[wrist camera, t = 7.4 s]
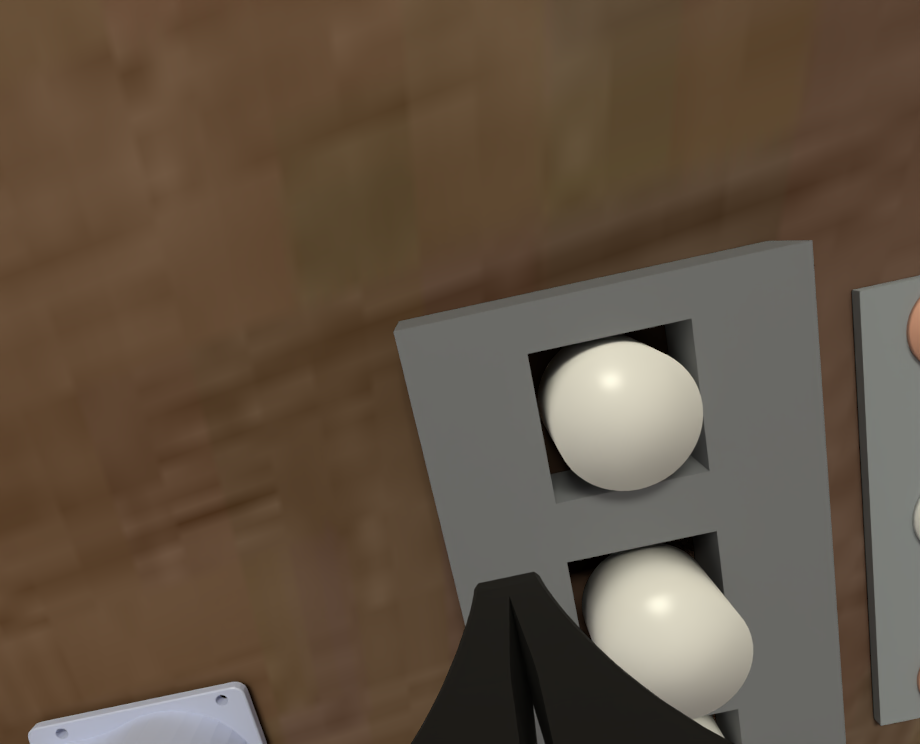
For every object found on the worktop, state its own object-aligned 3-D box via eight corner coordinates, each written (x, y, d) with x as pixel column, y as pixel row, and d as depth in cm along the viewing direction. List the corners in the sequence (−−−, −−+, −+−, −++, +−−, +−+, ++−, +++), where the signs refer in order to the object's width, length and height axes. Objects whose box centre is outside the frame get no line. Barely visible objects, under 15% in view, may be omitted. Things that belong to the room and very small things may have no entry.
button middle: (592, 666, 22) (617, 735, 19) (572, 557, 21) (594, 611, 18) (715, 641, 22) (759, 706, 19) (700, 530, 21) (746, 579, 18)
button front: (549, 468, 22) (567, 504, 19) (526, 347, 21) (541, 365, 18) (672, 441, 22) (710, 474, 19) (656, 319, 21) (694, 332, 18)
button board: (522, 833, 26) (530, 893, 24) (399, 321, 21) (393, 331, 18) (813, 774, 26) (851, 828, 24) (768, 241, 21) (812, 240, 18)
